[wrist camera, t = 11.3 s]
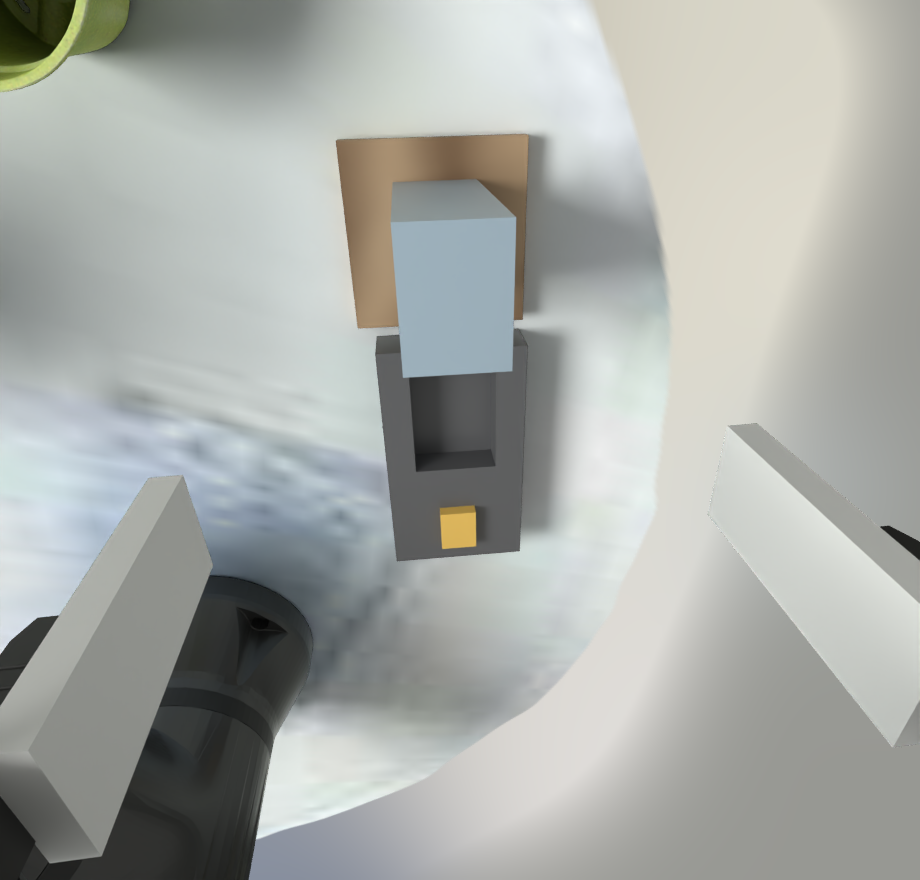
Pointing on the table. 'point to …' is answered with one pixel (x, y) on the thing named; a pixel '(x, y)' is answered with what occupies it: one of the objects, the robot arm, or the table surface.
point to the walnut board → (419, 159)
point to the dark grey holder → (453, 456)
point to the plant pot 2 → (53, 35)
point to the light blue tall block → (453, 277)
